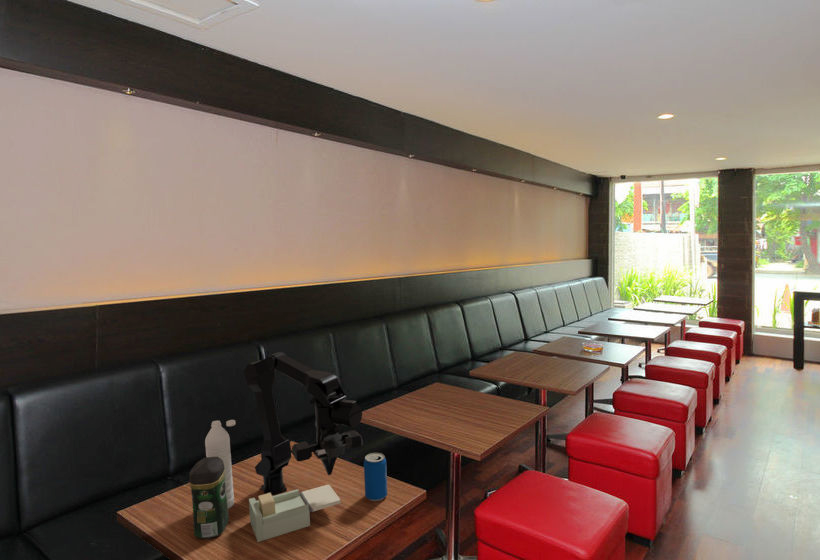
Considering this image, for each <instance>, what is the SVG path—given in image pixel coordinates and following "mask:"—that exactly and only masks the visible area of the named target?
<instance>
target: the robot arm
mask: <svg viewBox="0 0 820 560" xmlns="http://www.w3.org/2000/svg"><path fill="white" fill-rule="evenodd" d="M275 371H277V372H279V373H281V374H283V375H284V376H287V377H289V378H290V379H292V380H294V381H295V382H298V383H299V384H301V385H302V386H304V388H305V390H306V392H307V393H308V394H309V395H310V396H312V397H311V399H310V400H308V404H310V405H314V407H315V422H314V426H315V428H316V436H315V441H316V443H314V444H308V442H307V441H306V440H305V441H302V442H297V443H293V445H292V446H291V441H290V440H289V439H285V438H284V436H283V435H282V433H281V427H280V422H279V418H278V413H277V408H276V403H275V398H274V393H273V385H274V383H275V380H276V379H275V378H276V374H275V373H276V372H275ZM243 373H244V378H245V380H246V384H247V386H248V387H249V388H250V389H251V390H252V391H253V393H254V395H255V400H256V407H257V411H258V415H259V421H260V425H261V430H262V431H261V432H262V435H263V437H262V438H263V442H262V445H261V448H260V455H261V460H260V461H259V462H258V463H257V464H256V465H255V466H254V469H255V473H256V475H259V476H262V479H263V480H262V481H263V484H261V485H260V488H261V492H263V495H264V494H267V493H271V495H272V496H274V495H275V494H276V495H277V494H281V493H284V492H287V490H288V488H287V486H286V484H285V483H284V472H283V471H284V470H283V468H285V467H287V466H288V465H289V463H290V460H291V459H292V456H293V457H294V459H295V460H296V461H297V462H303V461H308V460H310V459H311V458H312V456H313V455H314V456H315V457H316V458H317V459H318V460H320V461H321V463H322V465H323V467H324V469H325V472H326V474H327V476H331V475H332V474H333V470H334V468H335V467H334V466H335V464H336V461H337V459H338V457H339V456H343V455H345V453H346V452H345V451H346V450H348V449H350V447H351V449H352V448H353V449H355V448H360V447H363V443H364V442H363V437H362V435H361V434H359V433H358V432H357V431H356V430H349V431H345V432H342V433H341V431H340V427H339V426H340V425H341V426H346V427H350V428H357V427H358V426H359V424H361V421H362V418H363V410H362V408H361V406H360V405H358V402H357V400H353V399H352V400H351V399H350V400H349V399H347V398H348V394H347V393H346V391H345V389H344V388H343V386H342V384H341V383H340V381H339V380H338V376H337V375H335V374H334V373H332V372H328V371H325V370H317V369H312V368H311V367H309V366H307V365H305V364H303V363H301V362H299V361H298V360H295V359H294V358H291V357H290V356H288V355H287V354H286V353H285V352H283V351H280V352H275V353H273V354H270V355H268V356H267V357H265V358H264V359H260V360H257V361H254V362H251V363H248V364H247V365H246V366H245V368H244V369H243ZM334 394H335V395H334ZM332 395H333V396H332ZM330 396H331V397H330Z"/></svg>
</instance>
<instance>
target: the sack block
mask: <svg viewBox="0 0 820 560" xmlns="http://www.w3.org/2000/svg"><path fill="white" fill-rule="evenodd" d="M272 496H273V495H271V493H267V494H264V493H263V494H261V495H258V500H259V509H260V512H261V514H262V518H263V517H266V516H269V515H273V514H276V512H275V501H274V499H273V497H272Z"/></svg>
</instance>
